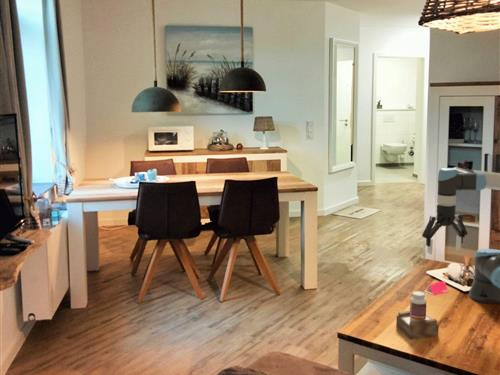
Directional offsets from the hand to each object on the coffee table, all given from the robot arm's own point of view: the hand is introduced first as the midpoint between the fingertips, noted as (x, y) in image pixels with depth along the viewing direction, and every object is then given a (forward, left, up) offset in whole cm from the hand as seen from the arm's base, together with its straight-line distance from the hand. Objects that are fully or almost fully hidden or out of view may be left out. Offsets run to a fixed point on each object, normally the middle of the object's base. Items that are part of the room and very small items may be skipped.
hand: (444, 252), depth 235 cm
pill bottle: (+21, +17, -22) cm, 35 cm away
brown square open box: (+21, +17, -27) cm, 38 cm away
